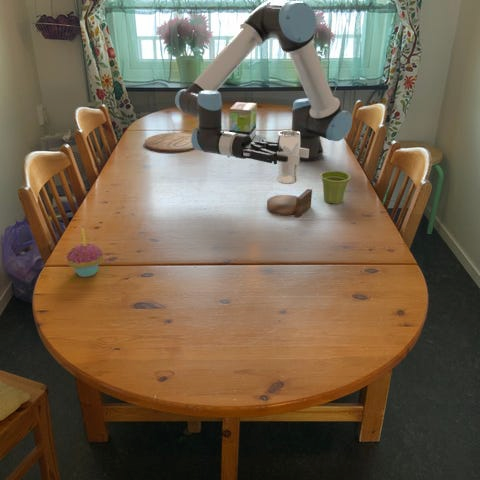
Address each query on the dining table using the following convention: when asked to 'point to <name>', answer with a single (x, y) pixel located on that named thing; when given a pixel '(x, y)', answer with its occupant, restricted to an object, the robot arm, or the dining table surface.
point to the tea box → (243, 118)
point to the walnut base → (290, 204)
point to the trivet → (170, 142)
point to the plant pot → (334, 186)
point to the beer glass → (289, 145)
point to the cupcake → (85, 258)
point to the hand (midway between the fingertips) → (303, 156)
